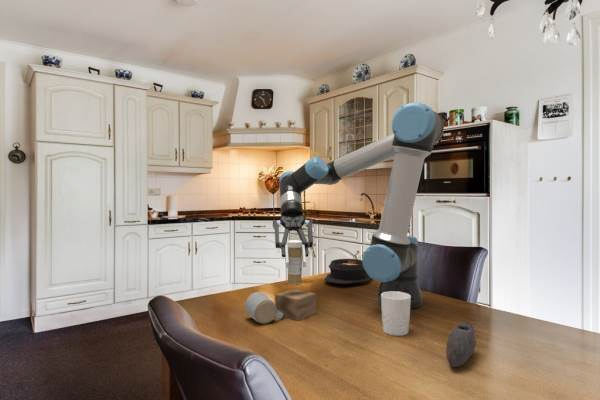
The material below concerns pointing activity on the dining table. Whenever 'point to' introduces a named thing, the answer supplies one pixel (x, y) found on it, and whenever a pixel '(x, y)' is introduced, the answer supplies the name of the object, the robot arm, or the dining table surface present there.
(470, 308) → the dining table surface
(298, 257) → the sprinkles bottle
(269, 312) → the ceramic mug
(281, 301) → the tan block
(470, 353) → the perforated stone tool
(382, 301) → the white cup
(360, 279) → the black fedora hat
